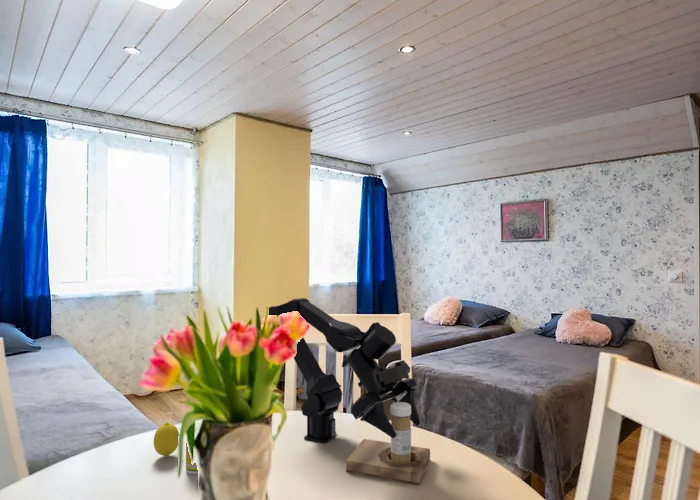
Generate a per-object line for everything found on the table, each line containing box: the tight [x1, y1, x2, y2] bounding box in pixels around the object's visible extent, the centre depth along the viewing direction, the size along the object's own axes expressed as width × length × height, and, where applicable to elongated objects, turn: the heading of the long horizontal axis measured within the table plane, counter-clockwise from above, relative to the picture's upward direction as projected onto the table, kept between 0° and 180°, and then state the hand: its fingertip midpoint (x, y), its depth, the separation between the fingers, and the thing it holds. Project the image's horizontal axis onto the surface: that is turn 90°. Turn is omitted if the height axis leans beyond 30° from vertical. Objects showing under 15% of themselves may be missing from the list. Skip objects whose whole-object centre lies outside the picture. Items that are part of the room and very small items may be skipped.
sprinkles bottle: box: [389, 401, 412, 464], centre depth 96 cm, size 5×5×13 cm
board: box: [345, 438, 431, 486], centre depth 97 cm, size 16×12×2 cm
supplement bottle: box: [185, 442, 199, 475], centre depth 96 cm, size 5×5×10 cm
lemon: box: [153, 421, 180, 458], centre depth 102 cm, size 6×6×8 cm
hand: (407, 430), depth 95 cm, fingers open, 9 cm apart
